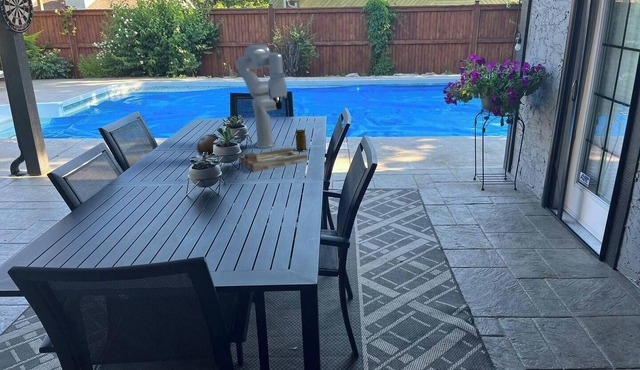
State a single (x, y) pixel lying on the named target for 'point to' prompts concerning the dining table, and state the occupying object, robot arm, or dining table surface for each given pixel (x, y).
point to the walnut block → (251, 157)
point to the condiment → (300, 140)
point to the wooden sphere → (206, 144)
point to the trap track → (273, 159)
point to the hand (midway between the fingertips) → (279, 108)
